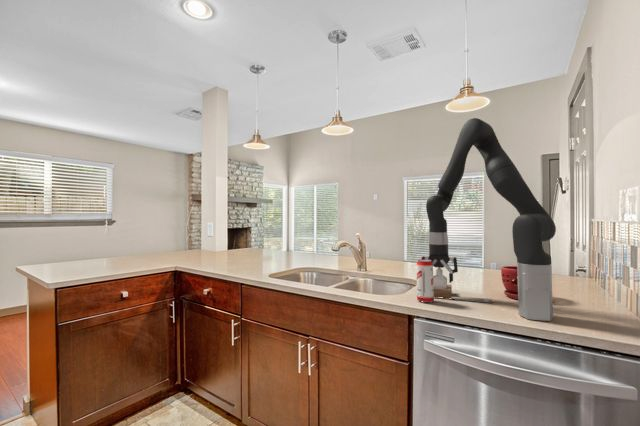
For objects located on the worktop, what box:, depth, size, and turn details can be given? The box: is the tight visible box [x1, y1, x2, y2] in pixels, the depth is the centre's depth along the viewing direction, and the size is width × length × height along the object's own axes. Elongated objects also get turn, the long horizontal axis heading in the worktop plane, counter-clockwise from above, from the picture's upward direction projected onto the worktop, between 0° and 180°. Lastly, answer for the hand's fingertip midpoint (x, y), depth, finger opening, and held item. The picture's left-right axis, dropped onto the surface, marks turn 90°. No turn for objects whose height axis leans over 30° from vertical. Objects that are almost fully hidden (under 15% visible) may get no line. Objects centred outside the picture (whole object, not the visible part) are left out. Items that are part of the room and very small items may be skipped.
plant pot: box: [500, 265, 518, 300], centre depth 125 cm, size 13×13×12 cm
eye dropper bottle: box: [433, 267, 448, 289], centre depth 131 cm, size 4×6×12 cm
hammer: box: [434, 284, 494, 304], centre depth 127 cm, size 12×24×4 cm, turn 66°
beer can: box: [415, 258, 435, 303], centre depth 122 cm, size 6×6×16 cm
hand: (439, 281), depth 131 cm, fingers open, 8 cm apart
